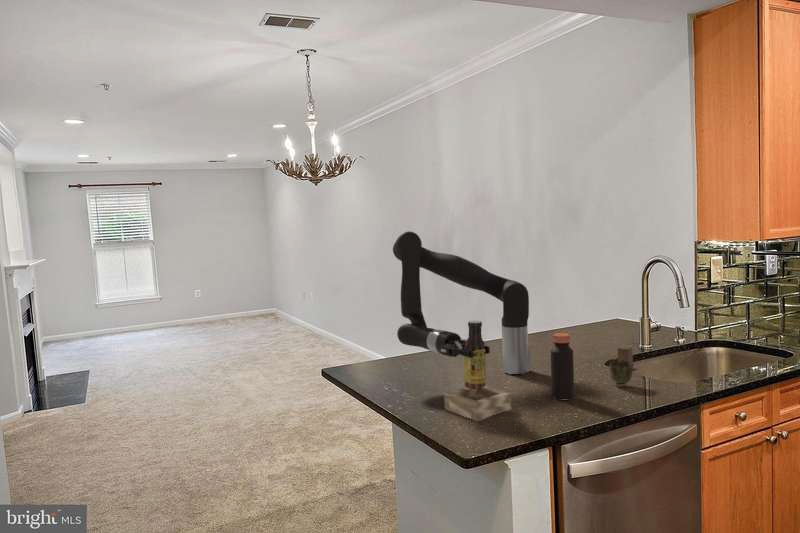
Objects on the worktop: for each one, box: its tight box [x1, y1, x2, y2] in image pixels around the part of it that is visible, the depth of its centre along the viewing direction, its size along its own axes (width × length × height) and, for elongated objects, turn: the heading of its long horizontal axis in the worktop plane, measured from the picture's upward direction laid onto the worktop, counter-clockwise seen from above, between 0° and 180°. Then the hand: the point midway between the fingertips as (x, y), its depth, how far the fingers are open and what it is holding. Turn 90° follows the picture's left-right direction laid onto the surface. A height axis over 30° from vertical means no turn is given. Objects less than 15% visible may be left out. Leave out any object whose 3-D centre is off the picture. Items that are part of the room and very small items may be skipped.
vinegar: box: [550, 332, 575, 400], centre depth 183 cm, size 7×7×20 cm
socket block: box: [443, 385, 512, 422], centre depth 176 cm, size 14×14×5 cm
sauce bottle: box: [463, 320, 486, 389], centre depth 174 cm, size 6×6×20 cm
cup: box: [608, 359, 634, 388], centre depth 191 cm, size 8×7×8 cm
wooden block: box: [617, 345, 634, 364], centre depth 211 cm, size 4×4×8 cm
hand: (480, 352), depth 172 cm, fingers closed on sauce bottle, 6 cm apart
